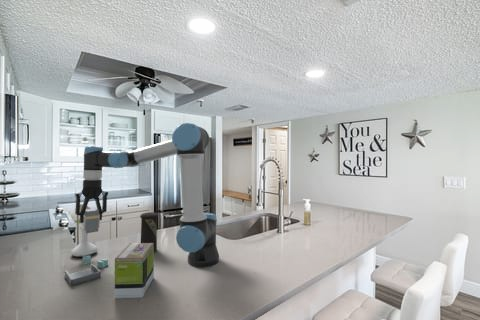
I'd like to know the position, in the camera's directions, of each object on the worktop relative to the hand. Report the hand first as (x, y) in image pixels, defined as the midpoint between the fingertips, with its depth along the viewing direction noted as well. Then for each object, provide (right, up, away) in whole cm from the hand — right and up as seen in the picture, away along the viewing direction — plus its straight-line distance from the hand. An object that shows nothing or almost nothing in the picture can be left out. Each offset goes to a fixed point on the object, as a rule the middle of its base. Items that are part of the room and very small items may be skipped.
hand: (90, 228), depth 115 cm
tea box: (+30, -17, -22) cm, 41 cm away
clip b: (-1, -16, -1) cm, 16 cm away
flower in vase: (-9, -16, +9) cm, 20 cm away
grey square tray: (+6, -16, -15) cm, 22 cm away
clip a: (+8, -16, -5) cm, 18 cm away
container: (+21, -16, +15) cm, 31 cm away
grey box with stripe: (0, -1, 0) cm, 1 cm away
